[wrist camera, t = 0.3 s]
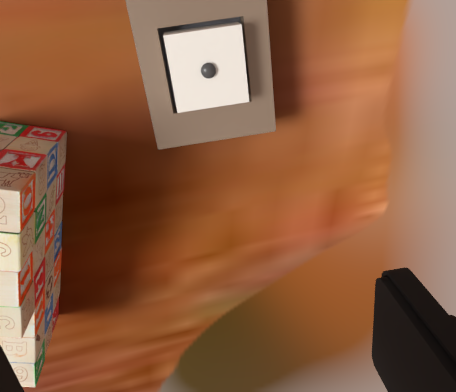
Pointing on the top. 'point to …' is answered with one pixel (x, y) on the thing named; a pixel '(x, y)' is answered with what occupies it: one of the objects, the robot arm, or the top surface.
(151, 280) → the top surface
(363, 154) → the top surface
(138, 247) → the top surface
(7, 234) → the stack of blocks
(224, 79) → the tile one
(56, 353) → the top surface
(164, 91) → the tile panel
